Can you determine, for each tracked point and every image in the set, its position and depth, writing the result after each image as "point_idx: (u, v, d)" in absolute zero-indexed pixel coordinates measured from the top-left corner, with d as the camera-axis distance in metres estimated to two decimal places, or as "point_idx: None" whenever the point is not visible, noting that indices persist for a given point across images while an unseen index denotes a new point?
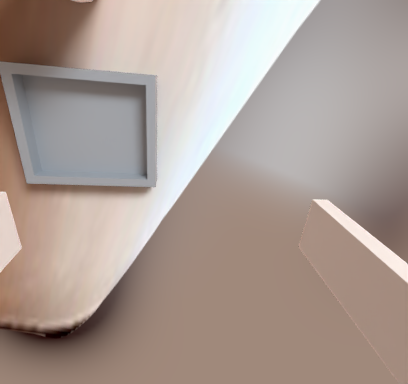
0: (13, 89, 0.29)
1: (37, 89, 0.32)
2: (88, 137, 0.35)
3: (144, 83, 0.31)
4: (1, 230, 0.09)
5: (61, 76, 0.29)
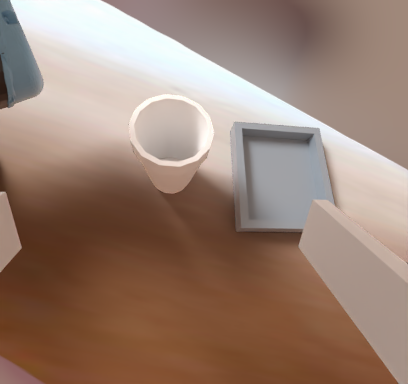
0: (260, 220, 0.35)
1: (254, 213, 0.38)
2: (285, 181, 0.41)
3: (240, 129, 0.40)
4: (1, 230, 0.09)
5: (245, 183, 0.37)
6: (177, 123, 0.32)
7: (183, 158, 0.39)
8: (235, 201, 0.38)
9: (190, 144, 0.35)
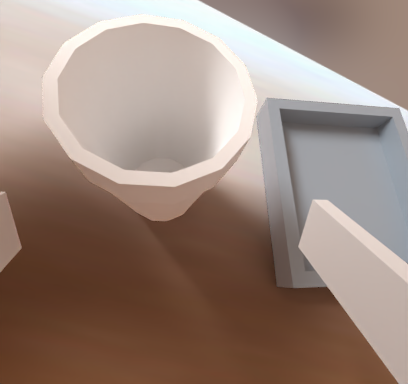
0: None
1: None
2: (351, 196, 0.25)
3: (277, 109, 0.24)
4: (1, 230, 0.09)
5: (292, 203, 0.21)
6: (170, 91, 0.16)
7: (183, 160, 0.23)
8: (274, 233, 0.22)
9: (195, 135, 0.18)
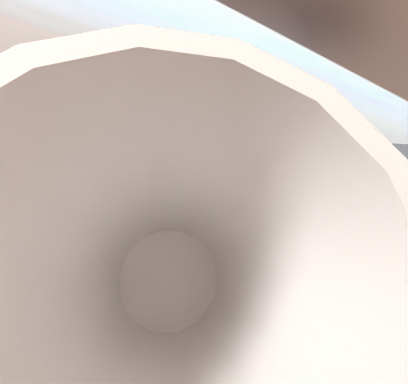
0: None
1: None
2: None
3: None
4: None
5: None
6: (193, 166, 0.08)
7: (202, 237, 0.15)
8: None
9: (230, 224, 0.11)
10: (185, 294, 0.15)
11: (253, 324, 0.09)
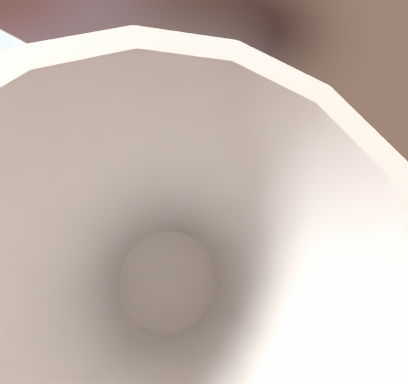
0: None
1: None
2: None
3: None
4: None
5: None
6: (192, 167, 0.08)
7: (201, 238, 0.15)
8: None
9: (230, 225, 0.11)
10: (184, 295, 0.15)
11: (252, 326, 0.09)
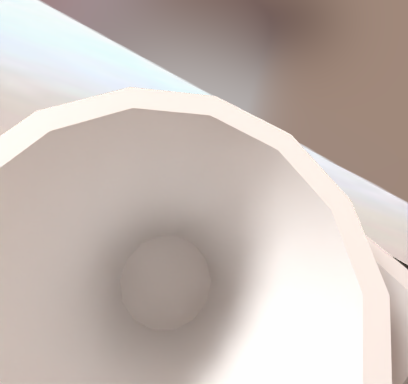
0: None
1: None
2: None
3: None
4: None
5: None
6: (184, 186, 0.10)
7: (196, 242, 0.16)
8: None
9: (220, 234, 0.12)
10: (181, 295, 0.16)
11: (237, 324, 0.10)
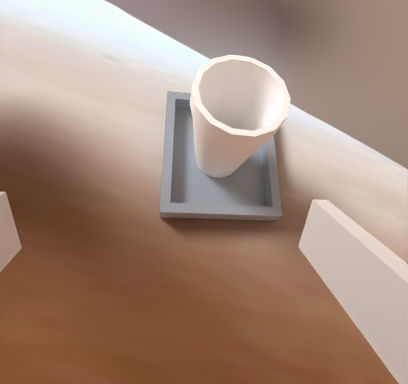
0: (184, 203, 0.30)
1: (183, 196, 0.32)
2: None
3: (174, 99, 0.35)
4: (1, 230, 0.09)
5: (171, 161, 0.31)
6: (236, 93, 0.28)
7: None
8: None
9: (246, 120, 0.30)
10: None
11: None
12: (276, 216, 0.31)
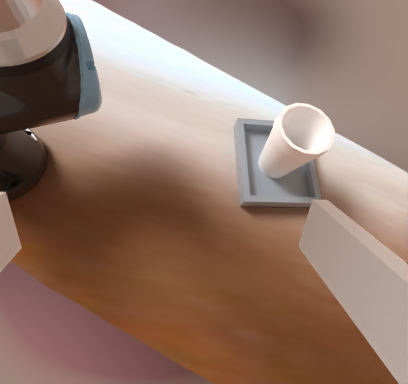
0: (259, 196, 0.45)
1: (254, 191, 0.47)
2: None
3: (242, 124, 0.50)
4: (1, 230, 0.09)
5: (246, 167, 0.46)
6: (294, 124, 0.43)
7: None
8: (239, 182, 0.48)
9: (298, 140, 0.46)
10: None
11: None
12: None
